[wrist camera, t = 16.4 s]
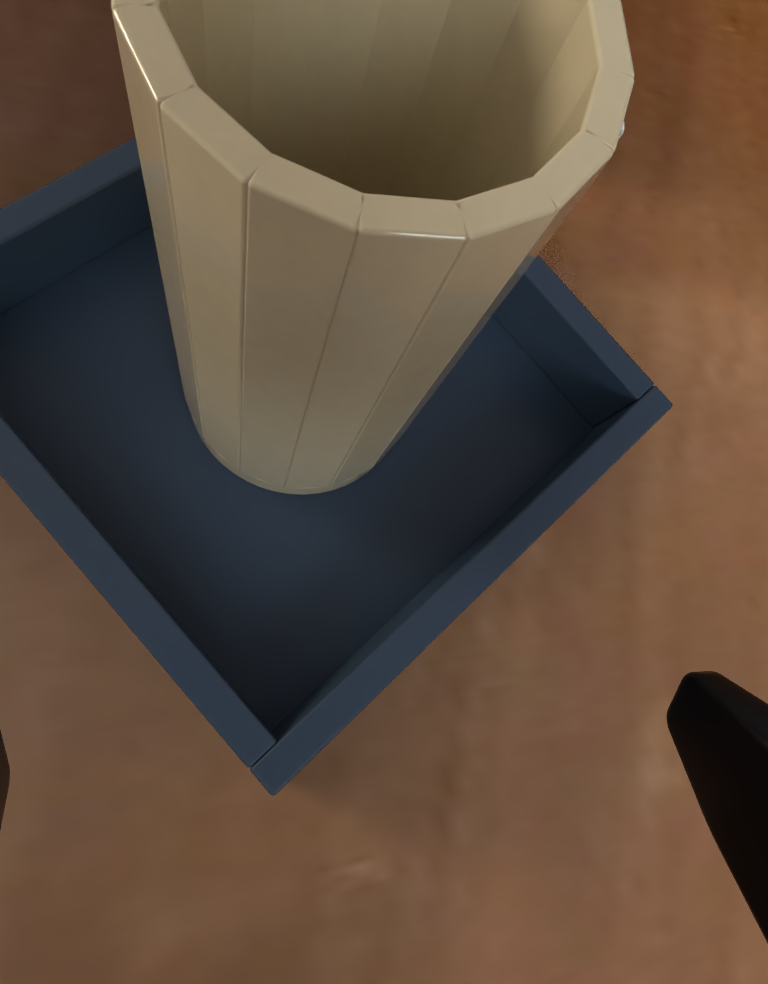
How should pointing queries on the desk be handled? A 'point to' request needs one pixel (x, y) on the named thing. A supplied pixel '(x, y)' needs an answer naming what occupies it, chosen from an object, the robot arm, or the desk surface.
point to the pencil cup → (354, 199)
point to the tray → (273, 515)
